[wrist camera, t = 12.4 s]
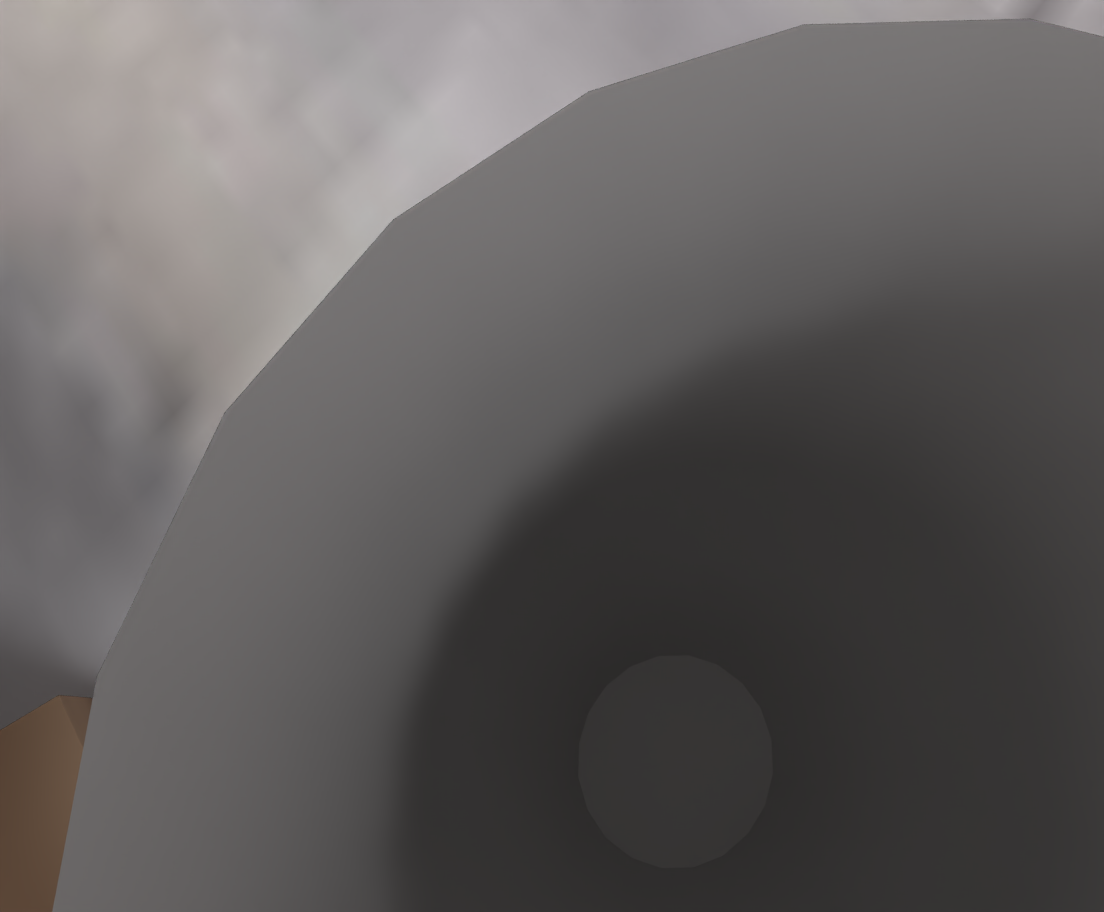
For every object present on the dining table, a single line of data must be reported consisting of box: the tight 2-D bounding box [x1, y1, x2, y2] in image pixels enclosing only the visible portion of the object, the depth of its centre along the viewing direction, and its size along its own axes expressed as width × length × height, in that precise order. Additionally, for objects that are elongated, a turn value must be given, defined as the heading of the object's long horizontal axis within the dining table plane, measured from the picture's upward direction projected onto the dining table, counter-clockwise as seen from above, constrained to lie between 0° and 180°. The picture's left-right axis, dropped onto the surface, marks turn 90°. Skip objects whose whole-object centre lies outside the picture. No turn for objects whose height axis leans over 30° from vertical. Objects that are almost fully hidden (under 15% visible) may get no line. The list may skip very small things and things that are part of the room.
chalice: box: [52, 19, 1104, 912], centre depth 12 cm, size 7×7×18 cm
